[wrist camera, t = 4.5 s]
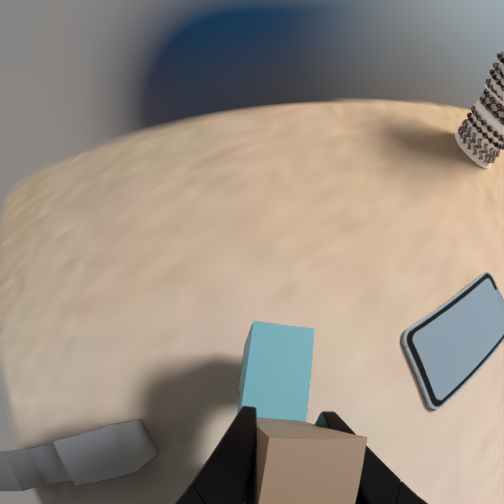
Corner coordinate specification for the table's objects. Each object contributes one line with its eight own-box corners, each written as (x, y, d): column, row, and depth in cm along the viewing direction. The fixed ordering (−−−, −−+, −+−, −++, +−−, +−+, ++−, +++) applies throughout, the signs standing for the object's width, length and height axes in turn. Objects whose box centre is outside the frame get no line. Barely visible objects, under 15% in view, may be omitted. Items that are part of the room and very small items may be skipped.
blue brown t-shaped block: (265, 507, 10) (321, 617, 1) (220, 503, 10) (220, 622, 1) (288, 348, 15) (379, 271, 6) (244, 343, 15) (277, 254, 6)
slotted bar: (139, 418, 14) (109, 425, 9) (158, 453, 13) (134, 472, 9) (17, 452, 10) (-25, 454, 6) (31, 481, 9) (-9, 490, 5)
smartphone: (400, 333, 18) (488, 268, 21) (393, 336, 19) (482, 272, 22) (433, 414, 15) (514, 326, 18) (426, 415, 15) (508, 329, 19)
